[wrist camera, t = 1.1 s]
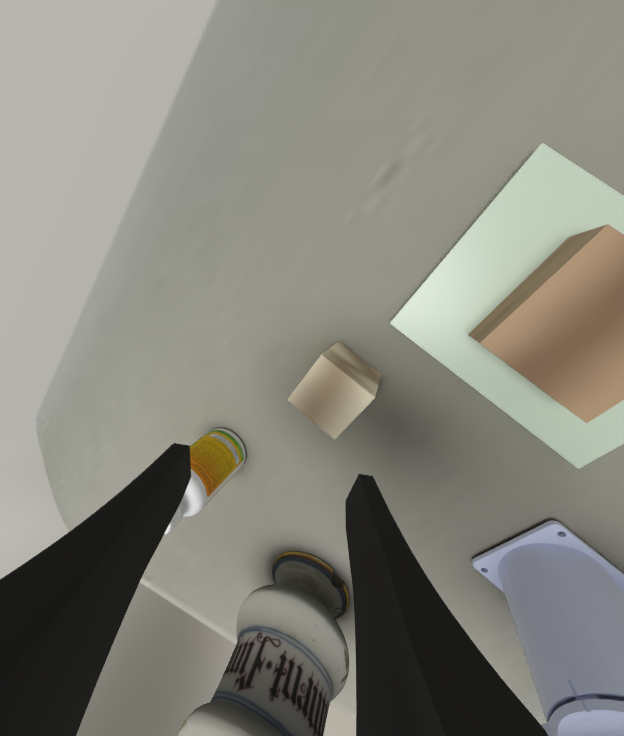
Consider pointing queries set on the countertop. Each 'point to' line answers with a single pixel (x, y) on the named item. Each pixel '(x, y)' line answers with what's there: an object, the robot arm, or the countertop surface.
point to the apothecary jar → (282, 657)
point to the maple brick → (336, 389)
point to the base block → (567, 324)
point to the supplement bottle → (209, 470)
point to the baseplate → (500, 278)
